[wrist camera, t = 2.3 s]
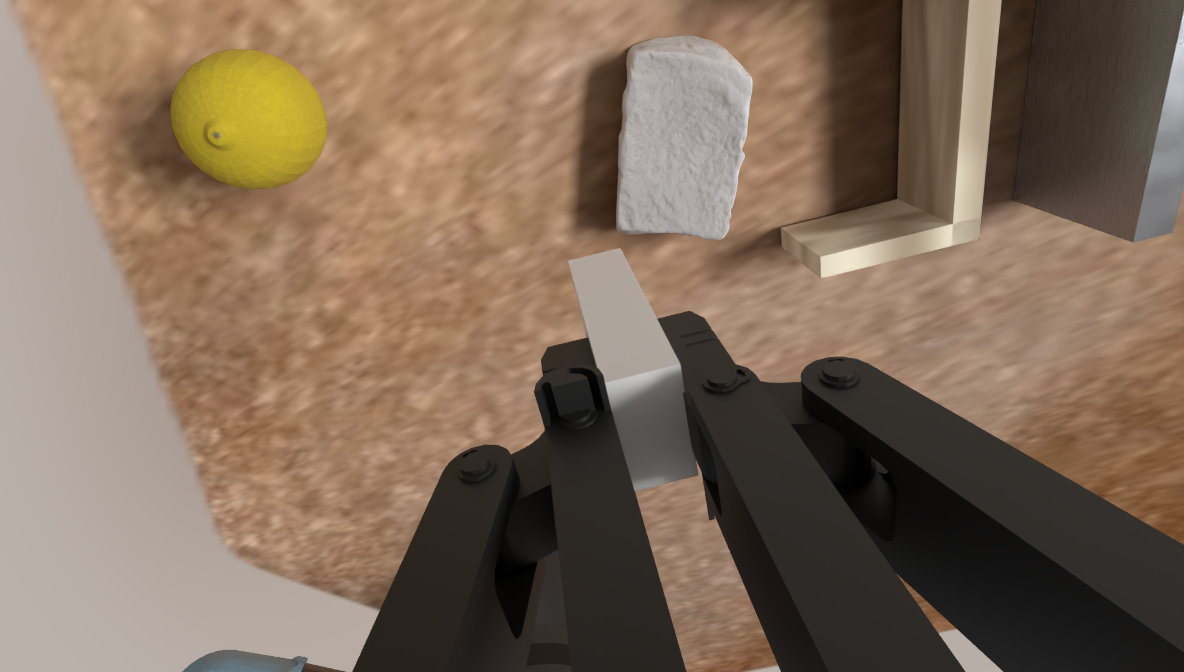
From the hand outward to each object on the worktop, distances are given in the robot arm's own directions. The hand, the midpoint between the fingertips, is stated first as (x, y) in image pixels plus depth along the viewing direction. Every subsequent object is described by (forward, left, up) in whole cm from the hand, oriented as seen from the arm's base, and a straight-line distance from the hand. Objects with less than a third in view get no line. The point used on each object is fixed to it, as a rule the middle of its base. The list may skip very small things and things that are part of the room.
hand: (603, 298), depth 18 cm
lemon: (-12, +6, -17) cm, 22 cm away
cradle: (+15, 0, -17) cm, 23 cm away
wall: (+27, 0, -17) cm, 32 cm away
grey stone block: (+6, 0, -18) cm, 19 cm away
